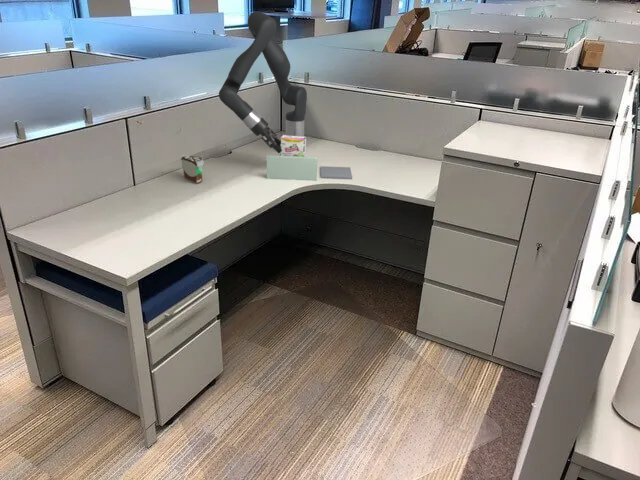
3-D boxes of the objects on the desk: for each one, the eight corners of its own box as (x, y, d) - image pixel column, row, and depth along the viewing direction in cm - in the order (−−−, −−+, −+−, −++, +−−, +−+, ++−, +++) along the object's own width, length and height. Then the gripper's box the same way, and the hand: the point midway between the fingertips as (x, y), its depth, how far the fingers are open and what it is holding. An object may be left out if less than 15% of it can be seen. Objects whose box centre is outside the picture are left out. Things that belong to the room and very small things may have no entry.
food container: (211, 181, 216) (209, 159, 212) (198, 185, 212) (197, 162, 208) (194, 174, 224) (192, 152, 219) (182, 177, 219) (180, 155, 215)
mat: (320, 167, 238) (320, 166, 238) (350, 168, 239) (350, 167, 238) (321, 178, 226) (321, 176, 225) (352, 179, 226) (352, 177, 226)
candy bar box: (279, 172, 230) (279, 137, 222) (281, 169, 234) (281, 134, 227) (303, 174, 229) (304, 139, 221) (305, 171, 233) (306, 136, 226)
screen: (267, 177, 224) (267, 155, 219) (316, 178, 225) (317, 157, 220) (266, 178, 222) (266, 156, 218) (316, 180, 223) (317, 158, 218)
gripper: (259, 120, 213) (286, 148, 219) (262, 112, 226) (287, 138, 232) (247, 132, 216) (274, 159, 221) (251, 124, 228) (276, 149, 234)
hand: (281, 148), depth 226 cm, fingers open, 8 cm apart
